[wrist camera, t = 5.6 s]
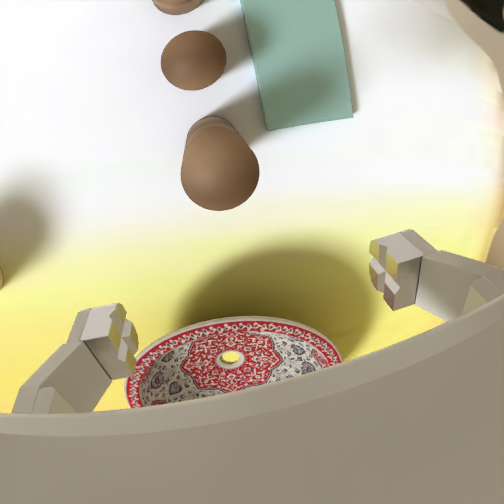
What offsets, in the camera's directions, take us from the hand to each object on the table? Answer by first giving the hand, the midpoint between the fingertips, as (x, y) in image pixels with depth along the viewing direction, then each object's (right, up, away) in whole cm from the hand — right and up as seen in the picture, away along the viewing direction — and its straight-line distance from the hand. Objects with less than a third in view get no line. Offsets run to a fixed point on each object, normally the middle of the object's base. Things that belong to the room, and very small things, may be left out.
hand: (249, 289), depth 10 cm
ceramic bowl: (-3, -14, +36) cm, 39 cm away
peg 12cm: (-4, +12, +20) cm, 24 cm away
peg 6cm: (-5, +19, +16) cm, 25 cm away
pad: (+4, +21, +17) cm, 27 cm away
